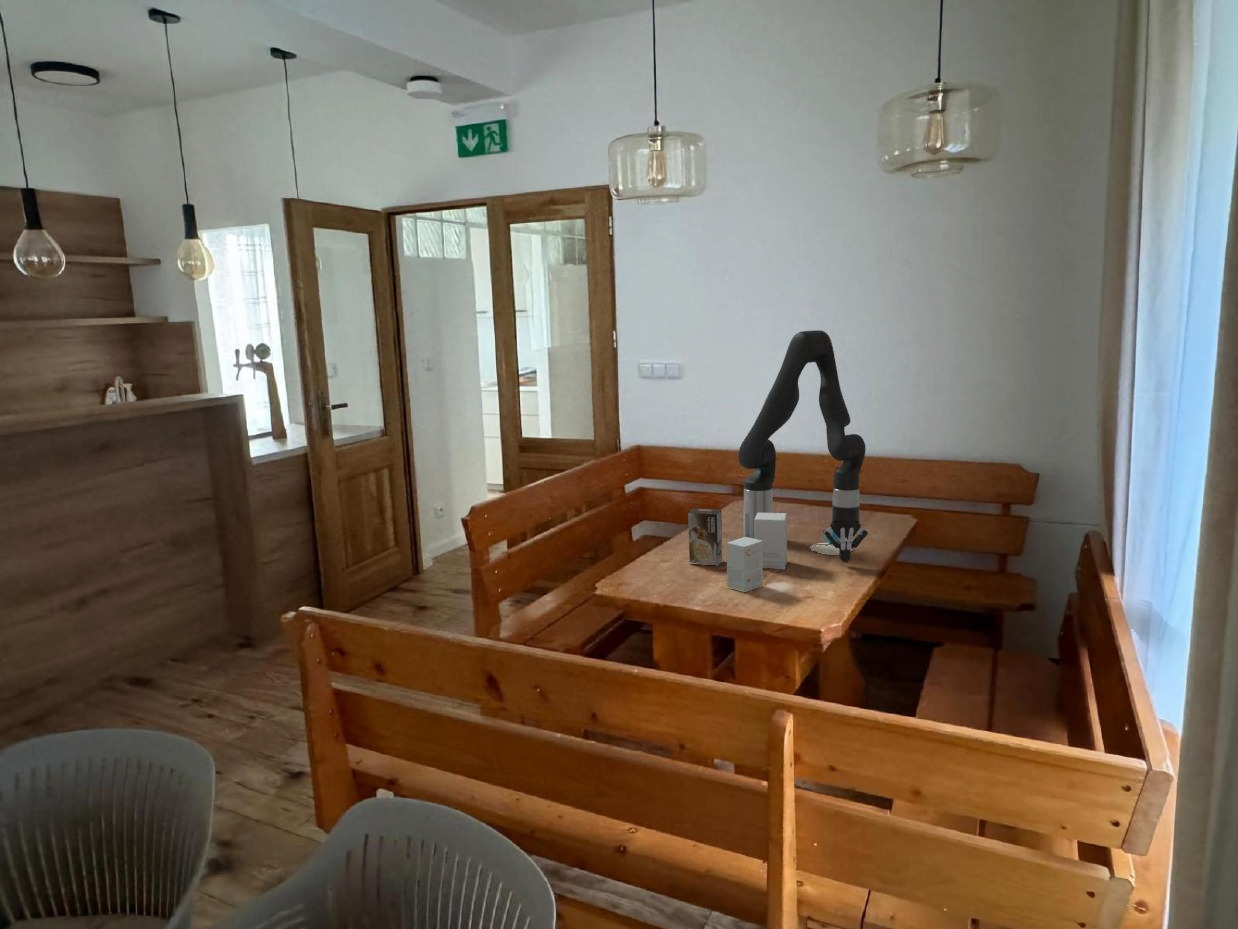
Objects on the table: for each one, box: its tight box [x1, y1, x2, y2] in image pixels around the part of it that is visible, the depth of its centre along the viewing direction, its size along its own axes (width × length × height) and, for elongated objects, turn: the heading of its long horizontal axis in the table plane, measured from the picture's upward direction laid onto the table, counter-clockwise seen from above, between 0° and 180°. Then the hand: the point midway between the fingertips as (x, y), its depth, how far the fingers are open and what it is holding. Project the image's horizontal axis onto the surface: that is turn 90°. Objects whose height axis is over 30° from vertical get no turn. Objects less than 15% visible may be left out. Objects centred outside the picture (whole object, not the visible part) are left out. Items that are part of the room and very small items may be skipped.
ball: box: [823, 526, 839, 544], centre depth 261 cm, size 6×6×6 cm
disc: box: [809, 542, 854, 556], centre depth 256 cm, size 13×13×1 cm
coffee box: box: [687, 507, 723, 566], centre depth 244 cm, size 9×6×16 cm
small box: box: [726, 536, 764, 593], centre depth 221 cm, size 8×6×13 cm
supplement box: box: [754, 512, 788, 570], centre depth 240 cm, size 9×9×15 cm
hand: (844, 561), depth 238 cm, fingers closed
